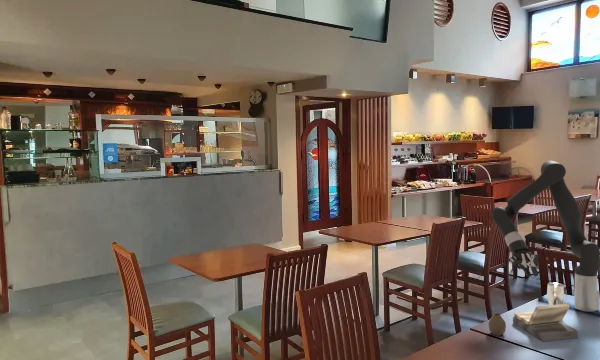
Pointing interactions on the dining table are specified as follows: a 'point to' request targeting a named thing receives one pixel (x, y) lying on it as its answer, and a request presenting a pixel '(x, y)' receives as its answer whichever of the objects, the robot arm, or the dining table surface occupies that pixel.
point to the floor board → (544, 328)
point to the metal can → (555, 293)
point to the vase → (497, 325)
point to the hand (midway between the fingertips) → (533, 275)
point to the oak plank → (549, 313)
